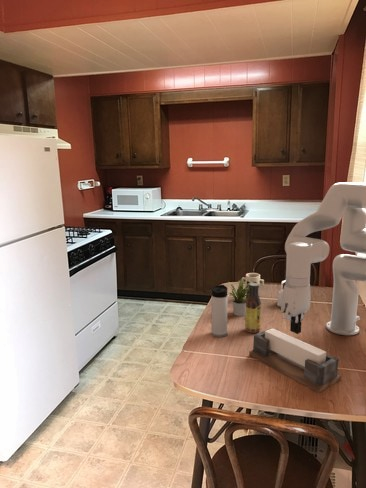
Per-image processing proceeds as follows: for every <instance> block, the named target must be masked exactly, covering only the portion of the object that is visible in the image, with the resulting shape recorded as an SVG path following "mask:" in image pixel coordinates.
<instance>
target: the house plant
mask: <svg viewBox="0 0 366 488" xmlns="http://www.w3.org/2000/svg"><path fill="white" fill-rule="evenodd" d="M237 281H238V287H237V288H235V286H234V284H232V283H231V282H230V281H228V280H227V283H229V288H231V292H228V294H229V295H228V297H233V299H232V302H231V303H232V309H233V314H234V315H235V316H236V317H243V316H245V309H246V299H247V298H246V296H247V295H249V294H246V293H247V292H248V291H249V290H248V288H249V284H250V283H251V282H253V281H251V282H250V283H248V284H247V286H246V285H245V284H243V280H242V279H239V280H237ZM247 290H248V291H247Z"/></svg>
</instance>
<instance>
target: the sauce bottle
mask: <svg viewBox="0 0 366 488" xmlns="http://www.w3.org/2000/svg"><path fill="white" fill-rule="evenodd" d="M259 289H260V287H259V284H257V283H250V284H249V296H248V297H247V299H246V309H245V315H244V316H245V317H244V322H245V323H244V328H245V332H247V333H252V334H258V333H260V331H261V323H262V322H261V320H262V319H261V318H262V317H261V316H262V301H261V299H260V295H259Z"/></svg>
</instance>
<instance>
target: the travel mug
mask: <svg viewBox="0 0 366 488" xmlns="http://www.w3.org/2000/svg"><path fill="white" fill-rule="evenodd" d="M228 297H229V295H228V287H227V286H226V285H225V284H217V285H214V286H213V287H212V288H211V316H210V317H211V318H210V319H211V324H210V325H211V326H210V327H211V331H210V332H211V333H210V334H211V336H213V337H214V338H215V337H216V338H223V337H227V335H228Z"/></svg>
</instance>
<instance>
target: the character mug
mask: <svg viewBox="0 0 366 488" xmlns="http://www.w3.org/2000/svg"><path fill="white" fill-rule="evenodd" d="M242 280H243V285H244V286H245V285H246V286H247V284H248V283H250V282H251V281H253V282H251V283H257V284H259V288H260V287H263V286H264V284H265V280H264V279H261V274H259V273H257V272H249V273H248V272H247V273H246V274H245V277H242V278H241V281H242ZM246 286H245V287H246ZM248 290H249V288H248ZM248 290H247V291H248ZM246 294H249V291H248V292H247V293H246ZM246 294H245V295H246ZM248 296H249V295H247V296H245V297H246V298H247V297H248Z"/></svg>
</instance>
